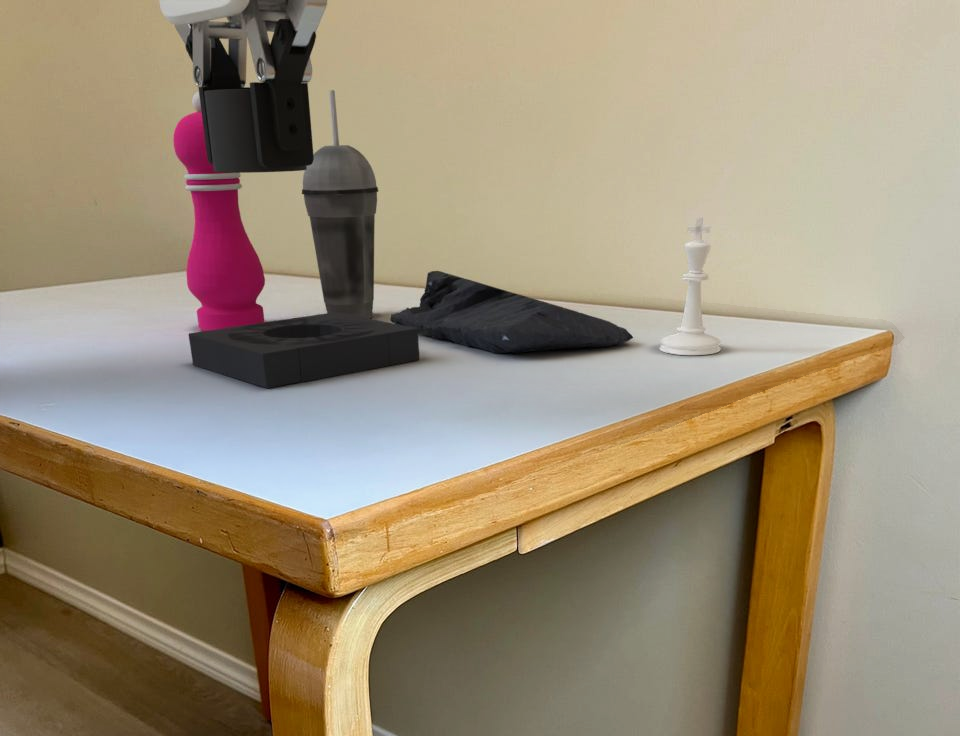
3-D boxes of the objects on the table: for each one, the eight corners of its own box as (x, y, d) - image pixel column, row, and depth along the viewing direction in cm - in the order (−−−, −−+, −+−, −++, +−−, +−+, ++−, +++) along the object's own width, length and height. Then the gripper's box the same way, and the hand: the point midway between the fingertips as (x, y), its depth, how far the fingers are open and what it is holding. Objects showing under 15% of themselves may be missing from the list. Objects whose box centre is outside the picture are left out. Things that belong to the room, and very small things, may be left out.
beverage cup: (314, 325, 97) (291, 88, 88) (313, 313, 104) (292, 92, 94) (389, 321, 98) (374, 87, 89) (383, 310, 104) (369, 90, 95)
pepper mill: (280, 320, 100) (255, 91, 91) (253, 334, 93) (223, 88, 84) (212, 320, 101) (180, 93, 92) (181, 333, 95) (143, 91, 86)
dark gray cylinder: (241, 173, 54) (231, 88, 52) (198, 171, 58) (187, 91, 56) (324, 169, 57) (317, 89, 55) (278, 168, 61) (270, 92, 59)
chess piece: (667, 342, 85) (675, 214, 81) (725, 345, 84) (737, 215, 79) (653, 353, 81) (660, 219, 77) (714, 357, 80) (725, 220, 75)
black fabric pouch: (483, 366, 78) (482, 303, 76) (381, 325, 96) (378, 273, 94) (647, 346, 84) (650, 286, 82) (522, 311, 102) (522, 261, 100)
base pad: (266, 388, 73) (262, 353, 72) (192, 365, 81) (187, 333, 80) (419, 360, 81) (418, 328, 80) (338, 341, 89) (335, 312, 88)
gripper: (76, -219, 53) (136, 165, 61) (228, -323, 41) (276, 170, 49) (208, -195, 57) (247, 161, 65) (380, -283, 45) (401, 165, 53)
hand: (259, 161), depth 57 cm, fingers closed on dark gray cylinder, 5 cm apart
